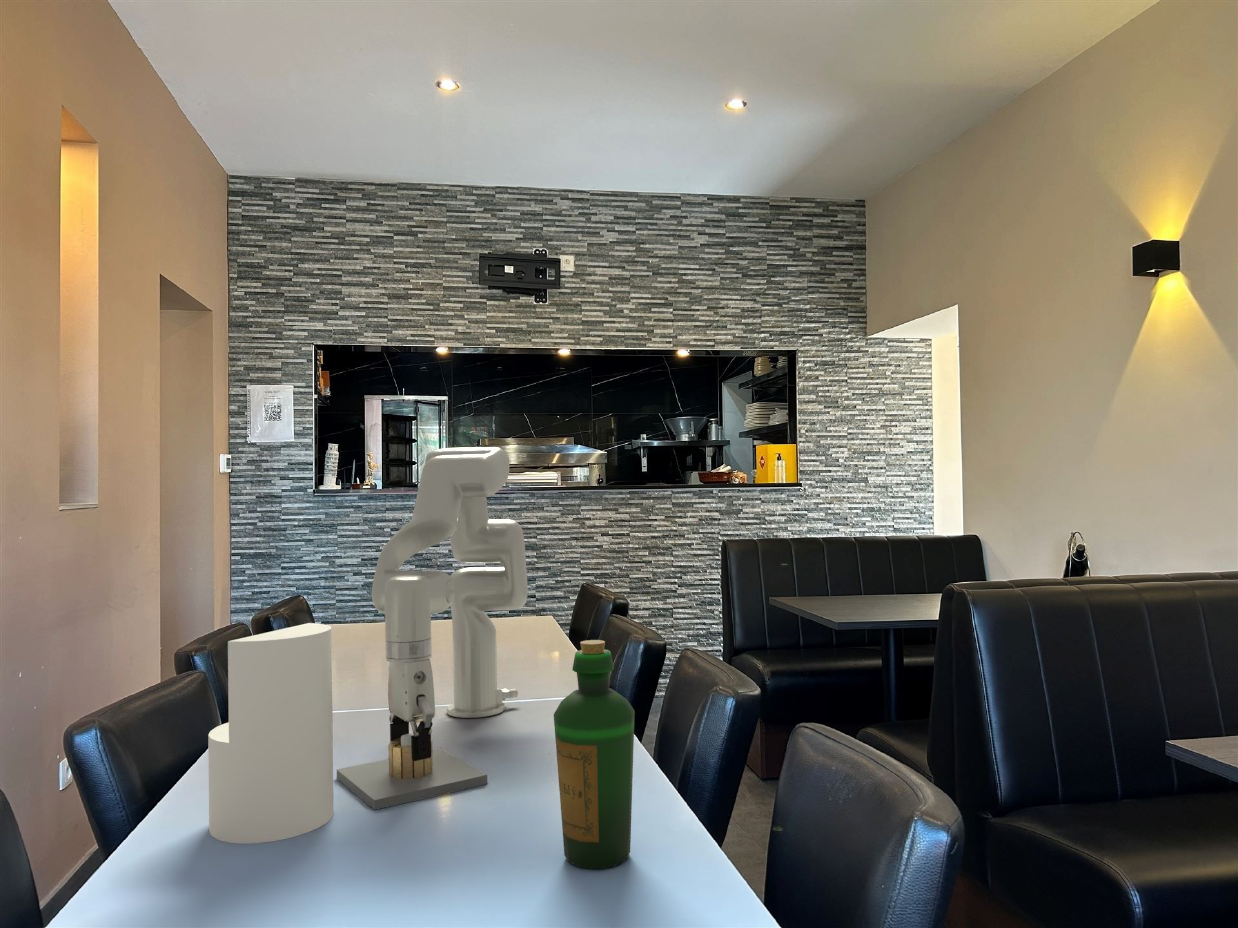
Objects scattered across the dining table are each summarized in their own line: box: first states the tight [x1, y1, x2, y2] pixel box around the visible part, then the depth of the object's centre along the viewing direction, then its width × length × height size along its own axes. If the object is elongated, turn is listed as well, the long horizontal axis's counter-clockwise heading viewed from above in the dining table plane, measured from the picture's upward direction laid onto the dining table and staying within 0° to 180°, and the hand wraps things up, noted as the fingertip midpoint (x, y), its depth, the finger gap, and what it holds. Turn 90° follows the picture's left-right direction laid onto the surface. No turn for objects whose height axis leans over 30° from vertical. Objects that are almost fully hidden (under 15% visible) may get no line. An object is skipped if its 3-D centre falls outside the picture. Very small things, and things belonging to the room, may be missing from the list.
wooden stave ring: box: [388, 738, 433, 779], centre depth 147 cm, size 7×7×5 cm
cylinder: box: [207, 622, 335, 845], centre depth 131 cm, size 17×17×28 cm
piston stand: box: [336, 733, 488, 811], centre depth 147 cm, size 19×19×8 cm
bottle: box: [553, 639, 636, 870], centre depth 115 cm, size 11×11×28 cm
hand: (410, 752), depth 147 cm, fingers open, 9 cm apart
